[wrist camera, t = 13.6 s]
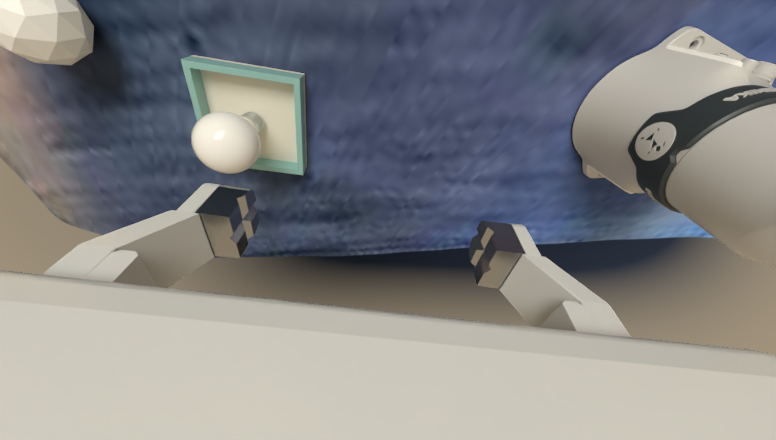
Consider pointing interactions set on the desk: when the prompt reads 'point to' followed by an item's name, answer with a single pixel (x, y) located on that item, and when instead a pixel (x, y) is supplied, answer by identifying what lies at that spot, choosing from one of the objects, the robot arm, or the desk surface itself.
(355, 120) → the desk surface
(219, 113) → the lightbulb
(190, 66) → the dish
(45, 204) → the desk surface
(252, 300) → the robot arm
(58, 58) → the geometric ball
